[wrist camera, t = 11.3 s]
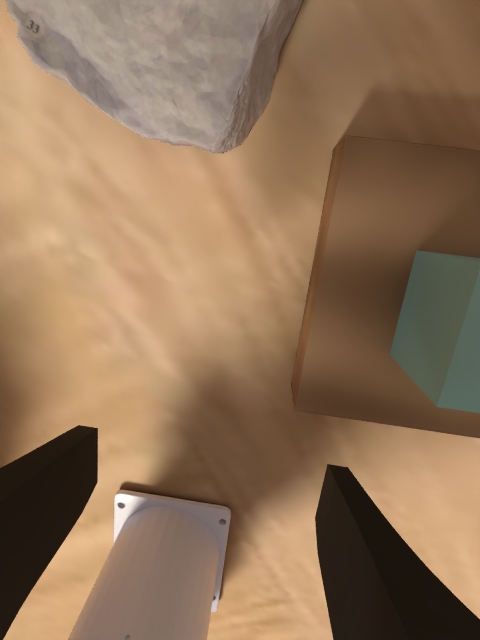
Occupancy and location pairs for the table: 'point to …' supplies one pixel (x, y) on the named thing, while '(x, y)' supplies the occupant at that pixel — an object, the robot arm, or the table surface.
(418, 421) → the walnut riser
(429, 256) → the teal cube
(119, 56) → the stone block
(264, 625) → the table surface
